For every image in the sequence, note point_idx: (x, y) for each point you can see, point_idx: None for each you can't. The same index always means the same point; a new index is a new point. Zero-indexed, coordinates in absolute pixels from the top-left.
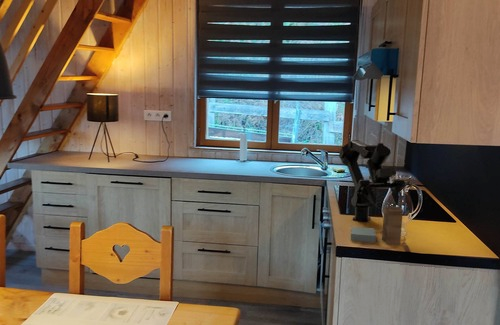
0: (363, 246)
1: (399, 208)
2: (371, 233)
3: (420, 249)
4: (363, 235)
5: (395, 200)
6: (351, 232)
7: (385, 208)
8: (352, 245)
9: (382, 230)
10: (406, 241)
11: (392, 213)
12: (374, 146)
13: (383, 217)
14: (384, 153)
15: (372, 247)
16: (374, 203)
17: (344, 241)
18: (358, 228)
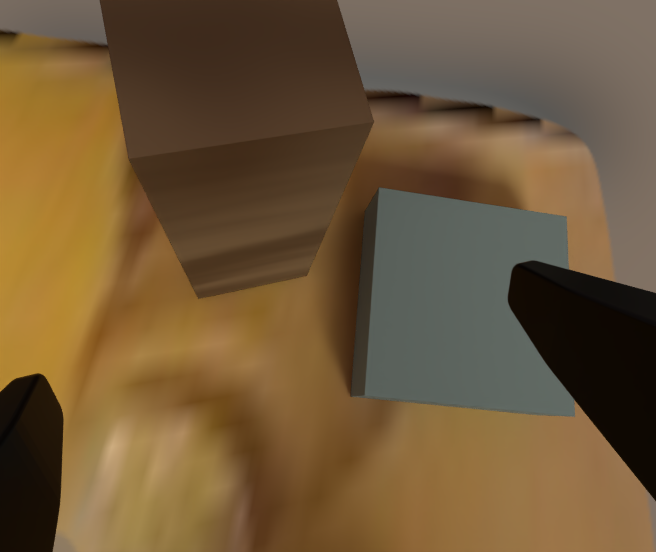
0: (451, 138)
1: (114, 48)
2: (407, 247)
3: (45, 114)
4: (472, 204)
5: (31, 492)
6: (565, 250)
7: (356, 78)
8: (520, 150)
9: (316, 252)
10: (97, 279)
11: None
12: None
13: (339, 196)
14: None
15: (394, 125)
16: (535, 262)
17: (572, 219)
18: (511, 372)
